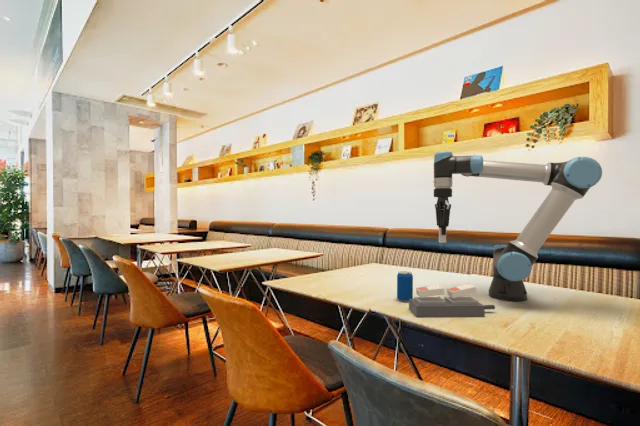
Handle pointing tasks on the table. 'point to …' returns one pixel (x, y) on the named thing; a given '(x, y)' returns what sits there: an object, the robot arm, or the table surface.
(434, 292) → the rocker
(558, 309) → the table surface
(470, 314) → the power strip
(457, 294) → the rocker
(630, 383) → the table surface
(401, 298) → the beverage can
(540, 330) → the table surface
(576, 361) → the table surface
